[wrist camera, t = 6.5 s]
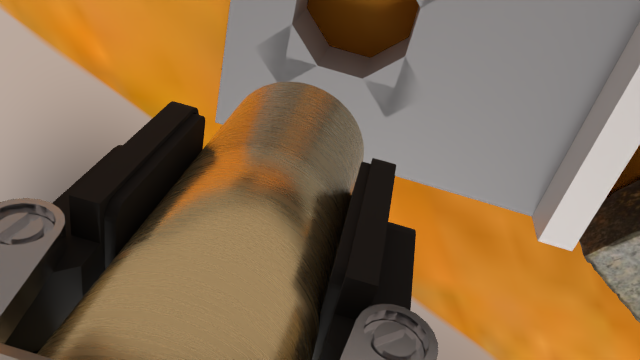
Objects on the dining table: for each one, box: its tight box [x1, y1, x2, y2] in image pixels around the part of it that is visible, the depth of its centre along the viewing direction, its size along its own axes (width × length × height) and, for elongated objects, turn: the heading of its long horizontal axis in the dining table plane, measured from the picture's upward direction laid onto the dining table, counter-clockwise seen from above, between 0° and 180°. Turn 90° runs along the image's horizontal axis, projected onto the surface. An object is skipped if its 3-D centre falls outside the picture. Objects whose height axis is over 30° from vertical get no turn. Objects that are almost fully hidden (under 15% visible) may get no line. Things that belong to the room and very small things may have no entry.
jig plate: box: [215, 0, 640, 251], centre depth 23 cm, size 18×14×5 cm
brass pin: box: [37, 82, 364, 360], centre depth 10 cm, size 4×4×9 cm
